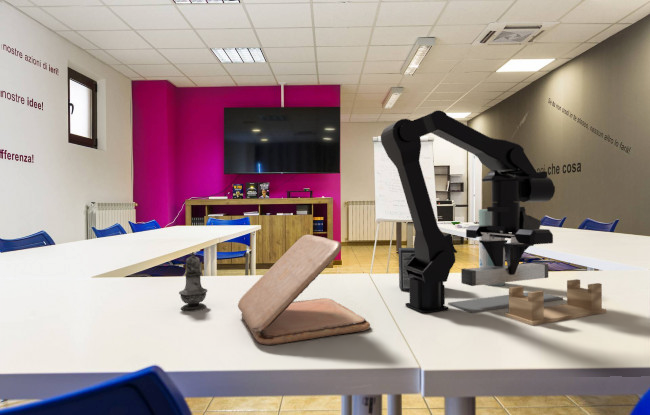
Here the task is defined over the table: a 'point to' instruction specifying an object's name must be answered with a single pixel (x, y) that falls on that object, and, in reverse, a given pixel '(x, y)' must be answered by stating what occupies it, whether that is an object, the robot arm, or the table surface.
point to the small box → (404, 258)
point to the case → (285, 286)
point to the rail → (503, 274)
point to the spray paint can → (484, 257)
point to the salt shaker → (193, 286)
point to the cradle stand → (577, 305)
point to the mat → (492, 303)
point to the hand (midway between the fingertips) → (505, 273)
